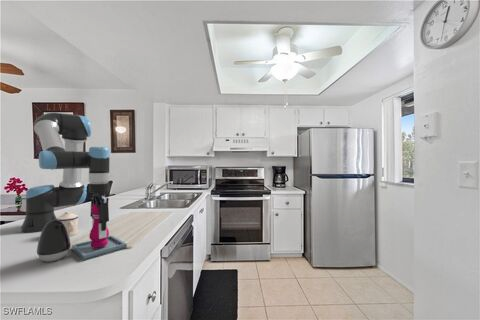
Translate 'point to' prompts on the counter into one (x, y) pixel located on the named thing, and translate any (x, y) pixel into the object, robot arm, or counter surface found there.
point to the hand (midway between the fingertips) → (99, 235)
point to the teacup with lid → (69, 222)
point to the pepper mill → (97, 230)
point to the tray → (89, 252)
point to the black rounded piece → (53, 241)
